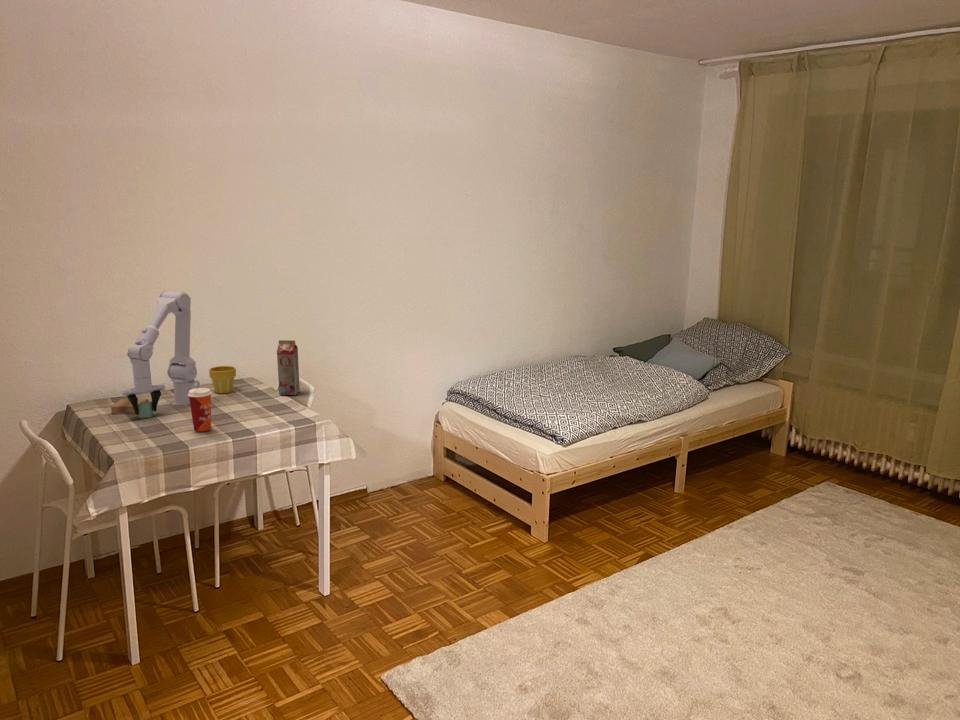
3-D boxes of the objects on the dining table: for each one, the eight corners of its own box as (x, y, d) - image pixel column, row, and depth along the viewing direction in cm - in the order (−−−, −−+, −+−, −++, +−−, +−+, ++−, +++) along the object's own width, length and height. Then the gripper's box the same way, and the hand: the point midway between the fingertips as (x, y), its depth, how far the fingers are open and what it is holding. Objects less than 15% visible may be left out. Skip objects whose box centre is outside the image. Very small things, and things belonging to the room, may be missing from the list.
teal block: (153, 414, 269) (152, 401, 268) (150, 417, 265) (148, 404, 264) (142, 414, 268) (140, 401, 267) (138, 417, 264) (137, 404, 263)
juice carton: (295, 394, 296) (292, 342, 291) (279, 394, 296) (276, 341, 291) (299, 390, 303) (297, 338, 297) (283, 390, 303) (281, 338, 298)
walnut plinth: (148, 406, 279) (148, 398, 278) (140, 413, 269) (139, 406, 268) (121, 406, 278) (120, 399, 277) (111, 414, 268) (111, 406, 267)
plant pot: (240, 387, 306) (238, 365, 303) (233, 394, 295) (231, 371, 293) (214, 388, 305) (213, 365, 303) (207, 394, 295) (205, 371, 293)
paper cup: (207, 433, 249) (204, 393, 246) (186, 431, 250) (183, 392, 247) (218, 426, 256) (215, 387, 253) (198, 424, 258) (195, 386, 254)
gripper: (159, 371, 271) (162, 406, 274) (117, 377, 262) (121, 413, 265) (165, 375, 266) (168, 410, 269) (123, 381, 256) (127, 418, 259)
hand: (145, 412), depth 266 cm, fingers closed on teal block, 5 cm apart
